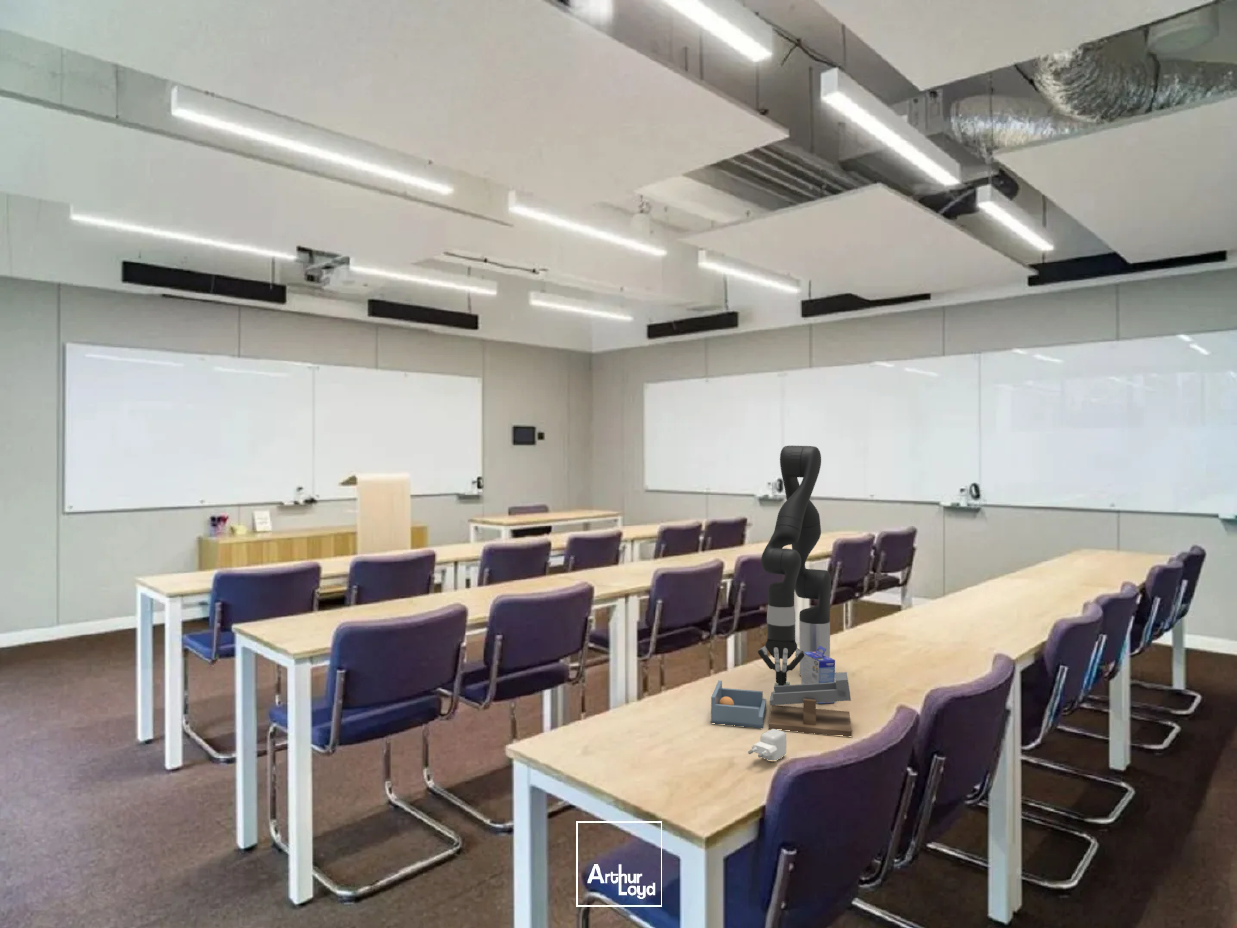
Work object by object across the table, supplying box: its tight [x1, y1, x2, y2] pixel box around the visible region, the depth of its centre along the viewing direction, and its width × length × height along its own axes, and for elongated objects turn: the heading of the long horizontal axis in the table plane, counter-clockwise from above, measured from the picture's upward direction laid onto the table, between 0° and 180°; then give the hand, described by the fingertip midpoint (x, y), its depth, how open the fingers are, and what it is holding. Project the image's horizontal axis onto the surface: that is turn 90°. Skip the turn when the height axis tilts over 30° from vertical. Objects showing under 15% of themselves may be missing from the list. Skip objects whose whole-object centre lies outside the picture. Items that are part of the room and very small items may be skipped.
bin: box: [710, 680, 767, 729], centre depth 191 cm, size 14×13×7 cm
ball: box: [719, 697, 734, 705], centre depth 191 cm, size 4×4×4 cm
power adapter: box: [747, 729, 787, 760], centre depth 163 cm, size 11×5×6 cm, turn 137°
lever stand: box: [768, 699, 853, 737], centre depth 186 cm, size 14×20×8 cm
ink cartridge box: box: [800, 646, 836, 705], centre depth 204 cm, size 10×6×14 cm, turn 15°
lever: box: [769, 671, 852, 706], centre depth 189 cm, size 15×20×6 cm
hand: (781, 684), depth 196 cm, fingers closed
